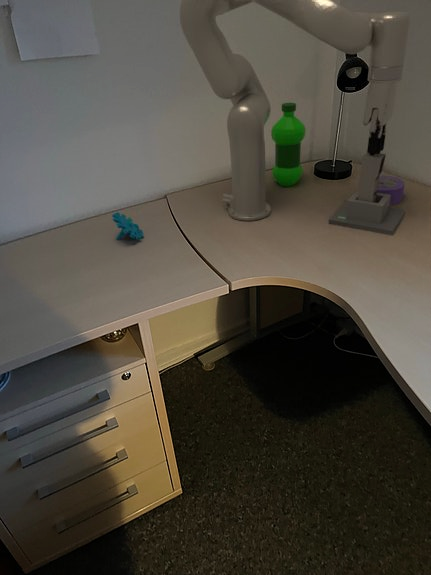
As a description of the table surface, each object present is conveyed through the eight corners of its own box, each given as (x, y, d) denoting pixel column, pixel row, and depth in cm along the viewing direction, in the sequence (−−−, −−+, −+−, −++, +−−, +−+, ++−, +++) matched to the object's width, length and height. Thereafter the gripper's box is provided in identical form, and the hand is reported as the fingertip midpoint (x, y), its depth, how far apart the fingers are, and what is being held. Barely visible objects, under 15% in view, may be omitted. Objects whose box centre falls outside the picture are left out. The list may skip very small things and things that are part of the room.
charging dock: (328, 223, 128) (330, 202, 125) (344, 204, 138) (346, 184, 134) (391, 235, 120) (395, 213, 117) (404, 213, 130) (408, 192, 127)
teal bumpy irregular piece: (142, 240, 123) (111, 217, 120) (129, 256, 125) (98, 233, 122) (147, 227, 133) (118, 205, 130) (135, 242, 135) (106, 220, 132)
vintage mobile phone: (373, 218, 126) (386, 124, 112) (355, 215, 128) (365, 122, 114) (377, 213, 128) (390, 120, 115) (359, 210, 131) (370, 118, 117)
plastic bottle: (305, 178, 157) (309, 100, 143) (298, 190, 149) (301, 109, 135) (276, 176, 160) (277, 100, 146) (268, 187, 152) (268, 108, 138)
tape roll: (355, 202, 139) (357, 186, 136) (367, 188, 147) (369, 172, 144) (396, 208, 133) (399, 192, 131) (406, 193, 142) (409, 178, 139)
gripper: (378, 66, 116) (369, 141, 126) (358, 79, 105) (350, 159, 115) (409, 67, 112) (398, 144, 122) (393, 80, 101) (381, 163, 111)
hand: (375, 151), depth 119 cm, fingers closed
